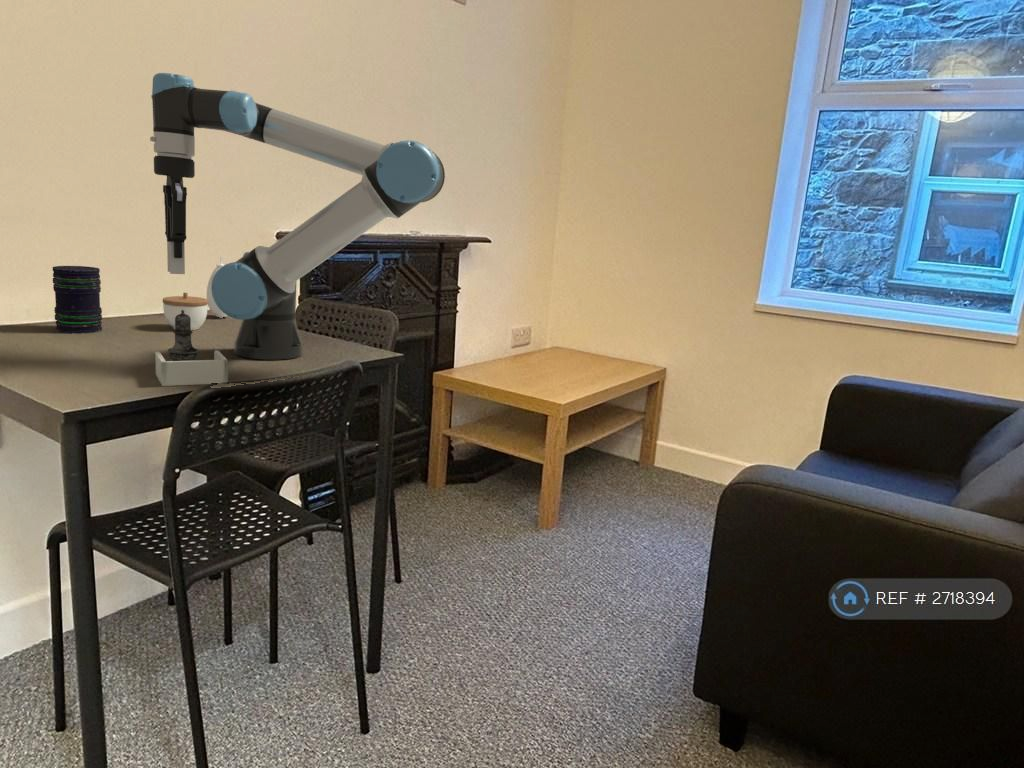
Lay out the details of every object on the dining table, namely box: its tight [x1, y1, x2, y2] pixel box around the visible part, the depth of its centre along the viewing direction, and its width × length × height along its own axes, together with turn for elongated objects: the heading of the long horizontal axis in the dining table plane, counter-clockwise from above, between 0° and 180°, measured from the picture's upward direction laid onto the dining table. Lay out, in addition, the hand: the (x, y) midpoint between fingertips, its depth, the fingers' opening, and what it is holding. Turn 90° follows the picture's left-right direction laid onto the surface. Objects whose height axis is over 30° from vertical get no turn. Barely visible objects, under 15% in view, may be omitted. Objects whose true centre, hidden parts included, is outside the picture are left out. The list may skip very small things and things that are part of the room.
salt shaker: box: [167, 310, 199, 361], centre depth 148 cm, size 6×6×12 cm
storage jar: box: [52, 265, 103, 335], centre depth 173 cm, size 10×10×15 cm
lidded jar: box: [162, 292, 209, 331], centre depth 188 cm, size 11×11×9 cm
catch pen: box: [154, 350, 229, 387], centre depth 140 cm, size 12×9×4 cm
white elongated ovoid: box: [206, 254, 229, 319], centre depth 207 cm, size 8×8×18 cm
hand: (176, 272), depth 151 cm, fingers open, 3 cm apart
